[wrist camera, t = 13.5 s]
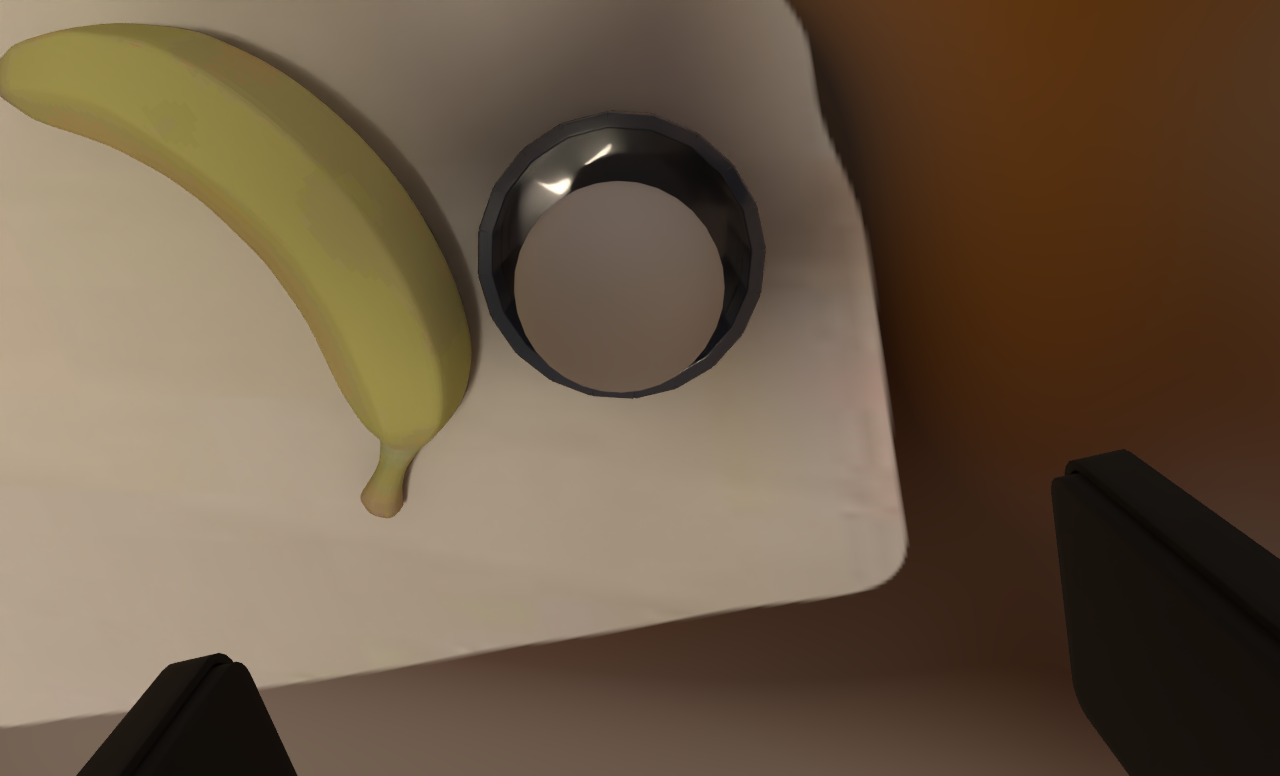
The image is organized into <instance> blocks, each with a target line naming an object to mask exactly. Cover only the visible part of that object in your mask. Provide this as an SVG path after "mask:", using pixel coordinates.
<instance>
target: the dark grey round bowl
mask: <svg viewBox="0 0 1280 776" xmlns="http://www.w3.org/2000/svg"><path fill="white" fill-rule="evenodd" d="M612 181H625V182H637V183H641V184H645V185H648V186H651V187H655V188H658V189H660V190H662V191H664V192H666V193H668V194H670V195H672V196H674V197H675V198H677V199H678V200H680V201H681V202H682V203H683V204H684V205H686V206H687V207H688V208H689V209H691V210H692V211H693V212H694V213H695V215H696V216H697V217H698V218H699V219H700V221H701V222H702V223H703V224H704V226H705V227H706V228H707V230H708V232H709V234H710V236H711V238H712V240H713V242H714V243H715V245H716V247H717V250H718V253H719V256H720V260H721V263H722V267H723V275H724V286H725V290H724V299H723V308H722V311H721V315H720V318H719V321H718V324H717V327H716V329H715V331H714V333H713V335H712V336H711V338H710V340H709V342H708V344H707V345H706V347H705V349H704V350H703V351H702V352H701V354H700V355H699V356H698V357H697V358H696V359H695V361H694V362H693V363H692V364H691V365H690V366H688V367H687V368H686V369H685V370H683V371H682V372H681V373H680V374H678V375H677V376H675V377H673V378H671V379H670V380H668V381H666V382H664V383H662V384H660V385H657V386H654V387H651V388H647V389H644V390H641V391H632V392H623V393H619V392H606V391H599V390H596V389H592V388H588V387H584V386H582V385H580V384H578V383H575V382H573V381H571V380H569V379H567V378H565V377H564V376H562V375H561V374H560V373H558V372H557V371H556V370H554V369H553V368H552V367H550V366H549V365H548V364H547V363H546V362H545V361H544V360H543V358H542V357H541V356H540V355H539V354H538V353H537V352H536V351H535V349H534V347H533V346H532V344H531V343H530V341H529V339H528V338H527V336H526V334H525V332H524V329H523V327H522V324H521V321H520V319H519V316H518V313H517V307H516V301H515V295H514V281H515V269H516V265H517V261H518V257H519V252H520V250H521V248H522V246H523V244H524V241H525V239H526V237H527V235H528V233H529V232H530V230H531V229H532V228H533V226H534V225H535V224H536V222H537V221H538V220H539V218H540V217H541V216H542V215H543V214H544V213H545V212H546V211H547V210H548V209H549V208H550V207H551V206H553V205H554V204H555V203H556V202H557V201H558V200H560V199H562V198H563V197H565V196H567V195H568V194H570V193H572V192H574V191H575V190H578V189H581V188H584V187H587V186H590V185H593V184H596V183H603V182H612ZM765 248H766V247H765V243H764V238H763V233H762V228H761V223H760V218H759V214H758V209H757V206H756V203H755V201H754V199H753V197H752V196H751V194H750V192H749V191H748V189H747V187H746V185H745V184H744V182H743V180H742V178H741V177H740V175H739V173H738V171H737V170H736V168H735V166H734V165H733V164H732V163H731V162H730V161H729V160H728V159H727V158H726V157H724V156H723V155H722V154H721V153H720V152H719V151H718V150H717V149H715V148H714V147H713V146H712V145H711V144H710V143H709V142H708V141H706V140H705V139H704V138H703V137H702V136H701V135H700V134H698V133H696V132H695V131H693V130H691V129H689V128H686V127H684V126H682V125H679V124H677V123H675V122H672V121H670V120H667V119H665V118H663V117H660V116H658V115H656V114H652V113H642V112H628V111H614V110H611V111H606V112H602V113H598V114H594V115H591V116H587V117H583V118H579V119H575V120H572V121H568V122H564V123H562V124H559V125H558V126H556V127H555V128H553V129H552V130H550V131H549V132H547V133H546V134H544V135H543V136H541V137H540V138H538V139H537V140H535V141H534V142H532V143H531V144H529V145H528V146H526V147H525V148H523V150H522V151H520V152H519V154H518V155H517V156H516V158H515V159H514V160H513V162H512V163H511V164H510V165H509V167H508V168H507V169H506V171H505V172H504V173H503V175H502V176H501V177H500V178H499V180H498V181H497V182H496V184H495V185H494V187H493V189H492V192H491V195H490V198H489V201H488V204H487V206H486V209H485V212H484V215H483V218H482V221H481V224H480V227H479V232H478V275H479V280H480V283H481V286H482V290H483V293H484V296H485V299H486V302H487V306H488V309H489V312H490V315H491V317H492V320H493V321H494V322H495V324H496V325H497V327H498V328H499V330H500V331H501V333H502V334H503V335H504V337H505V338H506V340H507V341H508V343H509V344H510V345H511V347H512V348H513V350H514V351H515V353H517V354H518V355H519V356H520V357H521V358H522V359H524V360H525V361H526V362H528V363H529V364H530V365H531V366H533V367H534V368H535V369H537V370H538V371H539V372H540V373H542V374H543V375H544V376H546V377H547V378H548V379H549V380H552V381H553V382H556V383H558V384H561V385H564V386H566V387H569V388H572V389H574V390H577V391H580V392H582V393H585V394H588V395H592V396H599V397H615V398H631V399H633V398H640V397H644V396H648V395H652V394H657V393H661V392H665V391H669V390H673V389H676V388H678V387H680V386H682V385H684V384H685V383H687V382H689V381H690V380H692V379H694V378H695V377H697V376H699V375H700V374H702V373H704V372H706V371H707V370H709V369H711V368H712V367H713V366H715V365H716V363H717V362H718V361H719V360H720V359H721V358H722V357H723V356H724V355H725V353H726V352H727V351H728V350H729V349H730V348H731V347H732V346H733V345H734V343H735V342H736V341H737V340H738V339H739V338H740V337H741V336H742V334H743V333H744V330H745V328H746V326H747V324H748V322H749V319H750V317H751V315H752V313H753V310H754V308H755V306H756V304H757V302H758V299H759V297H760V293H761V289H762V280H763V271H764V262H765V253H766V251H765Z"/></svg>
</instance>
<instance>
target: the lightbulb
mask: <svg viewBox="0 0 1280 776" xmlns="http://www.w3.org/2000/svg"><path fill="white" fill-rule="evenodd" d="M724 290H725V286H724V275H723V267H722V263H721V260H720V256H719V253H718V250H717V247H716V245H715V243H714V242H713V240H712V238H711V236H710V234H709V232H708V230H707V228H706V227H705V226H704V224H703V223H702V222H701V221H700V219H699V218H698V217H697V216H696V215H695V213H694V212H693V211H692V210H691V209H689V208H688V207H687V206H686V205H684V204H683V203H682V202H681V201H680V200H678V199H677V198H675V197H674V196H672V195H670V194H668V193H666V192H664V191H662V190H660V189H658V188H655V187H651V186H648V185H645V184H641V183H637V182H625V181H612V182H603V183H596V184H593V185H590V186H587V187H584V188H581V189H578V190H575V191H574V192H572V193H570V194H568V195H567V196H565V197H563V198H562V199H560V200H558V201H557V202H556V203H555V204H554V205H553V206H551V207H550V208H549V209H548V210H547V211H546V212H545V213H544V214H543V215H542V216H541V217H540V218H539V220H538V221H537V222H536V224H535V225H534V226H533V228H532V229H531V230H530V232H529V233H528V235H527V237H526V239H525V241H524V244H523V246H522V248H521V250H520V252H519V257H518V261H517V265H516V269H515V281H514V295H515V301H516V307H517V313H518V316H519V319H520V321H521V324H522V327H523V329H524V332H525V334H526V336H527V338H528V339H529V341H530V343H531V344H532V346H533V347H534V349H535V351H536V352H537V353H538V354H539V355H540V356H541V357H542V358H543V360H544V361H545V362H546V363H547V364H548V365H549V366H550V367H552V368H553V369H554V370H556V371H557V372H558V373H560V374H561V375H562V376H564V377H565V378H567V379H569V380H571V381H573V382H575V383H578V384H580V385H582V386H584V387H588V388H592V389H596V390H599V391H606V392H619V393H623V392H632V391H641V390H644V389H647V388H651V387H654V386H657V385H660V384H662V383H664V382H666V381H668V380H670V379H671V378H673V377H675V376H677V375H678V374H680V373H681V372H682V371H683V370H685V369H686V368H687V367H688V366H690V365H691V364H692V363H693V362H694V361H695V359H696V358H697V357H698V356H699V355H700V354H701V352H702V351H703V350H704V349H705V347H706V345H707V344H708V342H709V340H710V338H711V336H712V335H713V333H714V331H715V329H716V327H717V324H718V321H719V318H720V315H721V311H722V308H723V299H724Z"/></svg>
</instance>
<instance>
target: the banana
mask: <svg viewBox="0 0 1280 776" xmlns="http://www.w3.org/2000/svg"><path fill="white" fill-rule="evenodd" d="M0 96H1V97H2V98H3V99H4V100H6V101H7V102H9V103H10V104H11V105H13V106H14V107H16V108H17V109H19V110H20V111H22V112H23V113H25V114H26V115H28V116H29V117H31V118H33V119H35V120H37V121H40V122H42V123H45V124H47V125H50V126H53V127H56V128H59V129H63V130H66V131H69V132H72V133H75V134H78V135H81V136H84V137H87V138H89V139H92V140H95V141H98V142H100V143H103V144H106V145H108V146H110V147H113V148H115V149H117V150H119V151H121V152H123V153H125V154H127V155H129V156H131V157H133V158H135V159H136V160H138V161H140V162H142V163H144V164H146V165H148V166H150V167H151V168H153V169H155V170H157V171H158V172H160V173H162V174H164V175H165V176H167V177H168V178H170V179H171V180H173V181H174V182H176V183H177V184H179V185H180V186H181V187H183V188H184V189H185V190H187V191H188V192H189V193H191V194H192V195H194V196H195V197H196V198H198V199H199V200H200V201H201V202H203V203H204V204H205V205H206V206H207V207H209V208H210V209H211V210H212V211H213V212H214V213H215V214H216V215H217V216H219V217H220V218H221V219H222V220H223V221H224V222H225V223H226V224H227V225H228V226H229V227H230V228H231V229H232V230H233V231H234V232H235V233H236V234H237V235H238V236H239V237H241V238H242V239H243V240H244V241H245V242H246V243H247V244H248V245H249V246H250V247H251V248H252V249H253V250H254V251H255V252H256V253H257V255H258V256H259V257H260V258H261V259H262V260H263V261H264V262H265V264H266V265H267V266H268V267H269V269H270V270H271V271H272V272H273V274H274V275H275V276H276V278H277V279H278V280H279V282H280V283H281V284H282V286H283V287H284V289H285V290H286V291H287V293H288V294H289V296H290V297H291V299H292V300H293V301H294V303H295V304H296V306H297V307H298V309H299V310H300V312H301V313H302V315H303V317H304V318H305V320H306V322H307V323H308V325H309V327H310V329H311V331H312V333H313V335H314V337H315V338H316V340H317V342H318V345H319V347H320V349H321V351H322V353H323V355H324V357H325V359H326V361H327V363H328V365H329V368H330V370H331V372H332V374H333V376H334V378H335V380H336V382H337V384H338V386H339V388H340V389H341V391H342V393H343V395H344V397H345V398H346V400H347V401H348V403H349V404H350V406H351V408H352V409H353V411H354V412H355V414H356V415H357V417H358V418H359V419H360V421H361V422H362V423H363V424H364V426H365V427H366V428H367V429H368V430H369V431H370V432H372V433H373V434H374V435H375V436H376V437H377V438H379V439H380V460H379V464H378V466H377V468H376V470H375V472H374V474H373V476H372V477H371V479H370V480H369V482H368V484H367V485H366V487H365V488H364V489H363V491H362V493H361V501H362V503H363V505H364V506H365V508H366V509H367V510H368V511H369V512H370V513H371V514H373V515H375V516H378V517H383V518H391V517H393V516H395V515H396V514H397V513H398V512H399V511H400V509H401V508H402V506H403V495H402V486H403V480H404V475H405V472H406V469H407V467H408V465H409V463H410V462H411V460H412V459H413V458H414V456H415V455H416V454H417V452H418V451H419V450H420V448H421V447H422V446H424V445H425V444H426V443H428V442H429V441H430V440H431V439H432V438H433V437H434V436H435V435H436V434H437V433H438V432H439V431H440V430H441V429H442V428H443V426H444V425H445V424H446V423H447V421H448V420H449V419H450V418H451V416H452V415H453V413H454V412H455V410H456V409H457V407H458V406H459V404H460V402H461V400H462V398H463V396H464V393H465V391H466V387H467V383H468V379H469V373H470V366H471V339H470V333H469V327H468V323H467V318H466V315H465V311H464V308H463V304H462V301H461V298H460V295H459V292H458V289H457V287H456V284H455V281H454V278H453V276H452V273H451V271H450V269H449V267H448V264H447V262H446V260H445V258H444V256H443V254H442V252H441V250H440V248H439V246H438V244H437V242H436V240H435V238H434V237H433V235H432V233H431V231H430V230H429V228H428V226H427V224H426V223H425V221H424V219H423V217H422V216H421V214H420V213H419V211H418V209H417V208H416V206H415V204H414V203H413V201H412V200H411V198H410V197H409V195H408V194H407V192H406V191H405V189H404V188H403V186H402V185H401V184H400V183H399V181H398V180H397V179H396V177H395V176H394V175H393V173H392V172H391V171H390V170H389V169H388V167H387V166H386V165H385V164H384V163H383V161H382V160H381V159H380V158H379V157H378V156H377V154H376V153H375V152H374V151H373V150H372V149H371V148H370V147H369V145H368V144H367V143H366V142H365V141H364V140H363V139H362V138H361V137H360V136H359V135H358V134H357V133H356V132H355V131H354V130H353V129H352V128H351V127H350V126H349V125H348V124H347V123H345V122H344V121H343V120H342V119H341V118H340V117H339V116H338V115H337V114H336V113H334V112H333V111H332V110H331V109H330V108H329V107H328V106H326V105H325V104H324V103H323V102H322V101H320V100H319V99H318V98H317V97H315V96H314V95H313V94H312V93H310V92H309V91H308V90H307V89H305V88H304V87H303V86H301V85H300V84H299V83H297V82H296V81H294V80H293V79H291V78H290V77H288V76H287V75H285V74H284V73H282V72H281V71H279V70H278V69H276V68H274V67H273V66H271V65H269V64H267V63H266V62H264V61H262V60H261V59H259V58H257V57H255V56H253V55H251V54H249V53H247V52H245V51H243V50H241V49H238V48H236V47H234V46H232V45H229V44H227V43H225V42H223V41H220V40H218V39H216V38H213V37H211V36H208V35H205V34H202V33H199V32H195V31H191V30H186V29H181V28H174V27H165V26H154V25H143V24H128V23H113V24H99V25H90V26H83V27H75V28H70V29H65V30H59V31H55V32H50V33H47V34H44V35H40V36H37V37H34V38H30V39H27V40H25V41H22V42H20V43H18V44H15V45H14V46H12V47H11V48H10V49H9V50H8V51H7V52H6V53H5V54H4V55H3V56H2V58H1V59H0Z"/></svg>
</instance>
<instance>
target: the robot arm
mask: <svg viewBox="0 0 1280 776" xmlns="http://www.w3.org/2000/svg"><path fill="white" fill-rule="evenodd" d="M1051 495H1052V503H1053V513H1054V521H1055V530H1056V539H1057V548H1058V557H1059V566H1060V575H1061V584H1062V593H1063V601H1064V610H1065V619H1066V628H1067V636H1068V646H1069V654H1070V664H1071V673H1072V680H1073V686H1074V689H1075V693H1076V696H1077V698H1078V701H1079V704H1080V705H1081V708H1082V710H1083V712H1084V713H1085V715H1086V716H1087V718H1088V719H1089V721H1090V722H1091V724H1092V725H1093V726H1094V728H1095V729H1096V730H1097V732H1098V733H1099V734H1100V736H1101V737H1102V738H1103V740H1104V741H1105V743H1106V744H1107V745H1108V747H1109V748H1110V750H1111V751H1112V752H1113V754H1114V755H1115V756H1116V758H1117V759H1118V761H1119V762H1120V763H1121V764H1122V766H1123V767H1124V769H1125V770H1126V771H1127V773H1128V774H1129V775H1130V776H1280V559H1279V558H1277V557H1276V556H1275V555H1273V554H1272V553H1270V552H1269V551H1268V550H1266V549H1265V548H1263V547H1262V546H1261V545H1259V544H1258V543H1256V542H1255V541H1254V540H1252V539H1251V538H1249V537H1248V536H1247V535H1245V534H1244V533H1242V532H1241V531H1240V530H1238V529H1237V528H1236V527H1234V526H1233V525H1231V524H1230V523H1229V522H1227V521H1226V520H1224V519H1223V518H1221V517H1220V516H1219V515H1217V514H1216V513H1214V512H1213V511H1212V510H1210V509H1209V508H1207V507H1206V506H1205V505H1203V504H1202V503H1201V502H1199V501H1198V500H1196V499H1195V498H1194V497H1192V496H1191V495H1190V494H1188V493H1187V492H1185V491H1184V490H1183V489H1181V488H1180V487H1178V486H1177V485H1175V484H1174V483H1173V482H1171V481H1170V480H1169V479H1167V478H1166V477H1164V476H1163V475H1162V474H1160V473H1159V472H1157V471H1156V470H1155V469H1153V468H1152V467H1151V466H1149V465H1148V464H1146V463H1145V462H1143V461H1142V460H1141V459H1139V458H1138V457H1136V456H1135V455H1134V454H1132V453H1131V452H1129V451H1127V450H1125V449H1122V450H1117V451H1112V452H1108V453H1103V454H1099V455H1094V456H1090V457H1086V458H1082V459H1077V460H1072V461H1069V462H1068V464H1067V465H1066V469H1065V476H1062V477H1057V478H1054V480H1053V481H1052V485H1051ZM77 776H297V774H296V772H295V769H294V767H293V765H292V763H291V761H290V759H289V757H288V754H287V752H286V750H285V748H284V746H283V743H282V742H281V739H280V737H279V735H278V733H277V731H276V728H275V726H274V724H273V722H272V720H271V718H270V715H269V714H268V711H267V709H266V707H265V705H264V702H263V700H262V698H261V696H260V694H259V692H258V689H257V687H256V685H255V683H254V681H253V679H252V677H251V674H250V672H249V671H248V669H247V668H246V666H244V665H243V664H242V663H239V662H233V661H232V660H231V659H230V658H229V657H228V656H227V655H225V654H221V653H217V654H213V655H208V656H204V657H199V658H195V659H190V660H186V661H182V662H177V663H173V664H170V665H168V666H167V667H166V668H165V669H164V670H163V671H162V672H161V673H160V674H159V676H158V677H157V678H156V679H155V681H154V682H153V683H152V684H151V685H150V687H149V688H148V689H147V690H146V691H145V693H144V694H143V695H142V696H141V698H140V699H139V700H138V701H137V702H136V704H135V705H134V706H133V707H132V709H131V710H130V711H129V712H128V713H127V715H126V716H125V717H124V718H123V719H122V721H121V722H120V723H119V724H118V726H117V727H116V728H115V729H114V730H113V732H112V733H111V734H110V735H109V737H108V738H107V739H106V740H105V742H104V743H103V744H102V745H101V746H100V748H99V749H98V750H97V751H96V752H95V754H94V755H93V756H92V757H91V759H90V760H89V761H88V762H87V763H86V765H85V766H84V767H83V768H82V769H81V771H80V772H79V773H78V774H77Z"/></svg>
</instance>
